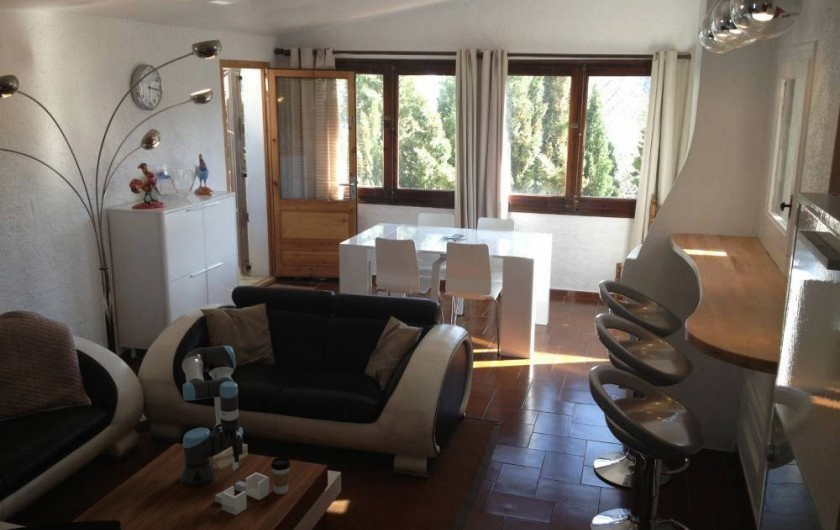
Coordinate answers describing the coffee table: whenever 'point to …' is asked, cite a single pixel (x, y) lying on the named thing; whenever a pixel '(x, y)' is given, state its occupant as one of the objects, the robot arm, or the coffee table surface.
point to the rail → (227, 457)
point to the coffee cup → (280, 474)
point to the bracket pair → (245, 493)
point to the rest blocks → (238, 486)
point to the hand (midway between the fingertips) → (231, 466)
